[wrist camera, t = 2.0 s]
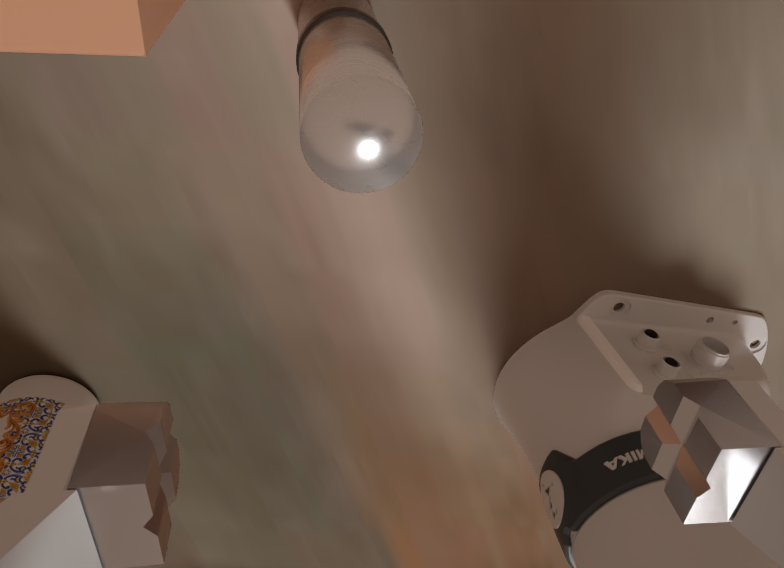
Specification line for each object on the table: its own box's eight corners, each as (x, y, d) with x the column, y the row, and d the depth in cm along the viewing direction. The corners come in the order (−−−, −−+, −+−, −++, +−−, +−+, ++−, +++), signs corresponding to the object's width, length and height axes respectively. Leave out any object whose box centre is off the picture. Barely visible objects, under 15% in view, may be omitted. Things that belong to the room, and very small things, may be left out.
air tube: (378, -18, 33) (432, 73, 20) (373, 65, 35) (420, 195, 22) (295, -22, 32) (295, 69, 19) (296, 62, 35) (298, 195, 22)
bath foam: (45, 354, 43) (-106, 663, 27) (124, 409, 47) (34, 710, 31) (-23, 403, 45) (-203, 722, 29) (59, 452, 49) (-60, 760, 32)
